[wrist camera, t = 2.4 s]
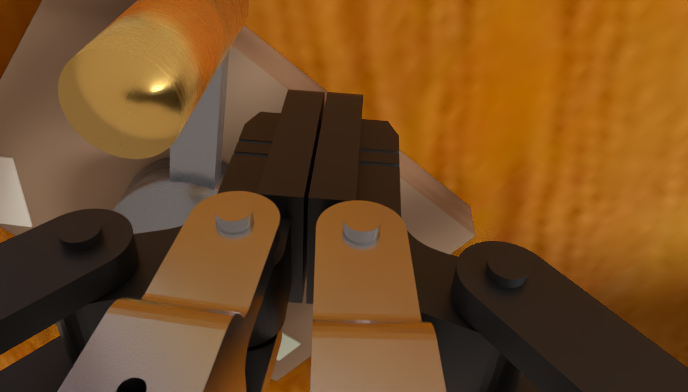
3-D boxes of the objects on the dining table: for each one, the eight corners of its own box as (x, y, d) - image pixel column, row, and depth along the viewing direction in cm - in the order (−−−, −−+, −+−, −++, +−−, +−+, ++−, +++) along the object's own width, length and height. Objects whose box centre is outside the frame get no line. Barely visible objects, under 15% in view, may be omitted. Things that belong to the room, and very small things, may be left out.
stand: (470, 207, 26) (478, 252, 23) (272, 358, 33) (262, 406, 30) (71, -114, 19) (24, -97, 17) (-67, 164, 26) (-114, 204, 24)
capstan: (260, 346, 29) (223, 507, 22) (131, 323, 28) (56, 480, 22) (318, -27, 18) (277, 81, 12) (110, -71, 18) (-48, 15, 11)
